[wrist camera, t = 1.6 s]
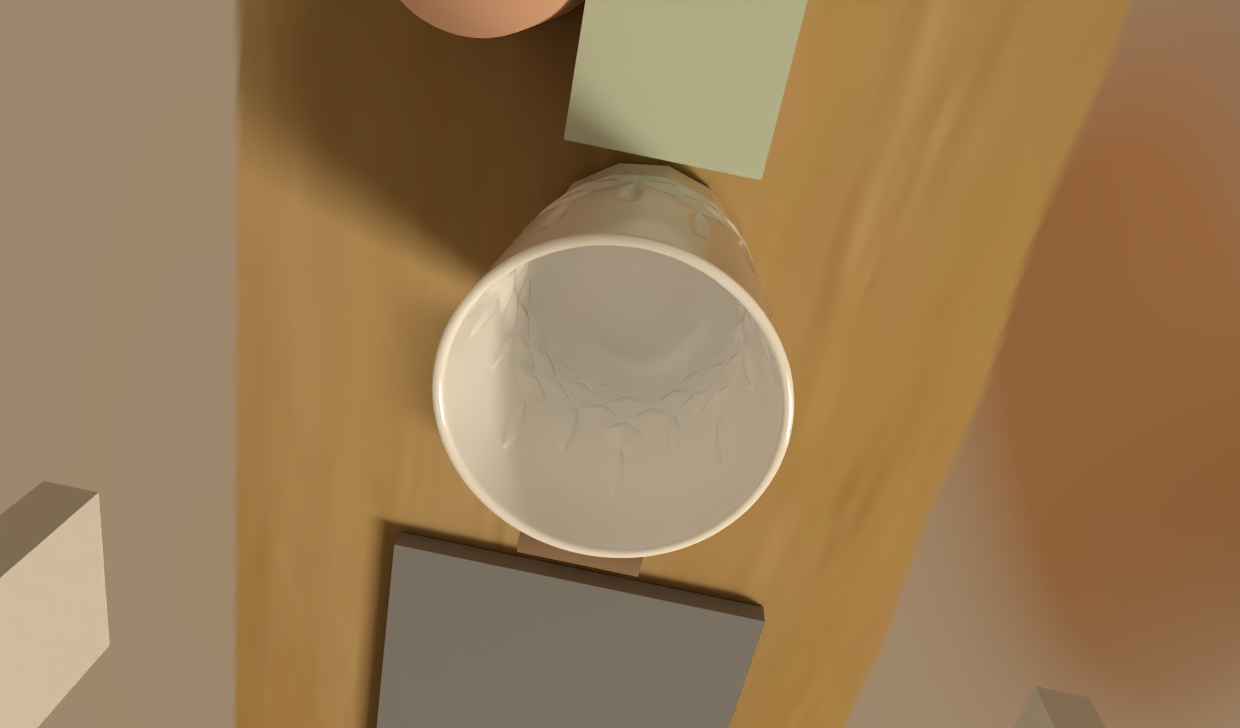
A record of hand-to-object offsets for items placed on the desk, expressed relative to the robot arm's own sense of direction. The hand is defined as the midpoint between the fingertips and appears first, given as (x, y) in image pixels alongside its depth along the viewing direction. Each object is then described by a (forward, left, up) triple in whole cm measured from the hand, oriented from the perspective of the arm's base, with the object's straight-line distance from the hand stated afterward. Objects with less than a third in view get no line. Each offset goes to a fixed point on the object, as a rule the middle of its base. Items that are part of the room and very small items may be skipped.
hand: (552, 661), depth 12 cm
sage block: (-6, -4, -18) cm, 19 cm away
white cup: (0, 0, -18) cm, 18 cm away
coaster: (+15, +12, -17) cm, 26 cm away
